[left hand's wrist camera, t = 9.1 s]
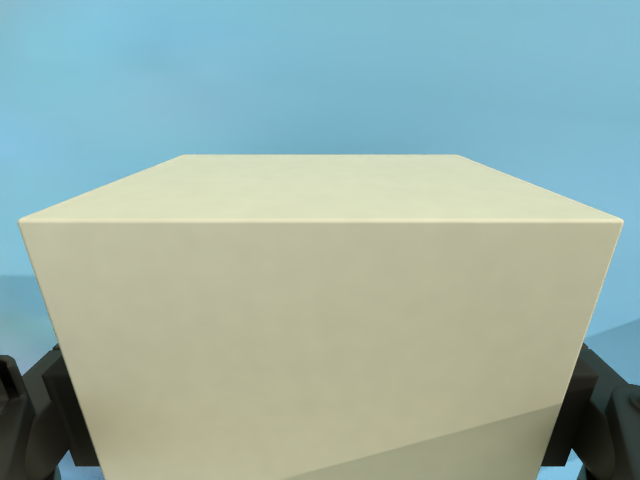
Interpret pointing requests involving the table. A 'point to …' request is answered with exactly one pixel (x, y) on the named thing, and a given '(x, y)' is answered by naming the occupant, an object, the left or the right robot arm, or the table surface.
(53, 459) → the left robot arm
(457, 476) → the thick block
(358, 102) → the table surface
